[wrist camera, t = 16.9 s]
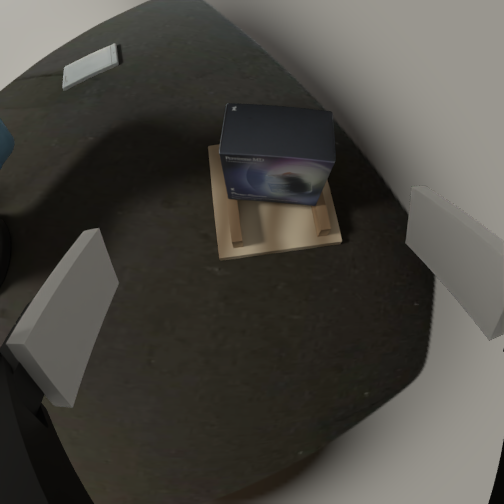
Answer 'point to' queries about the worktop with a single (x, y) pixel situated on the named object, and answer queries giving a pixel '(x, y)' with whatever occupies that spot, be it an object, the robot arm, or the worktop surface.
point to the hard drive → (90, 66)
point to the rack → (268, 221)
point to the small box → (276, 153)
